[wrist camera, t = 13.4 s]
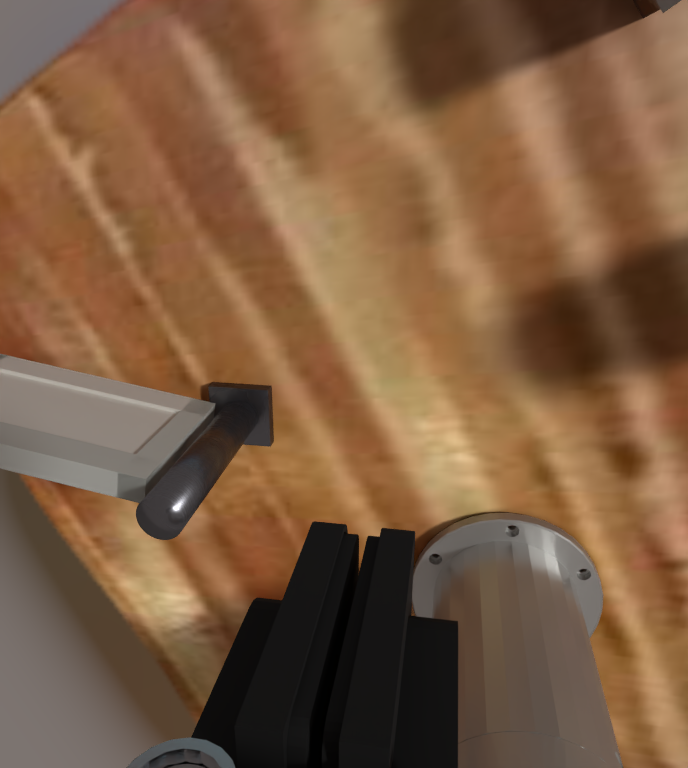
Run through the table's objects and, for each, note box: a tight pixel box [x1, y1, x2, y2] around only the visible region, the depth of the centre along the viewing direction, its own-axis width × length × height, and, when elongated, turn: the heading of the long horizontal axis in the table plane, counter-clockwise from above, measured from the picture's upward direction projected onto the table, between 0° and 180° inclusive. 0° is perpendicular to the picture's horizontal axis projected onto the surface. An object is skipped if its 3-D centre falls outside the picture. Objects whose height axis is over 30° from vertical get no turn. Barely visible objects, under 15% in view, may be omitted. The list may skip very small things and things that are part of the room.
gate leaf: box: [0, 354, 215, 503], centre depth 38 cm, size 16×2×10 cm, turn 80°
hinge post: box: [136, 382, 274, 540], centre depth 37 cm, size 4×4×13 cm
